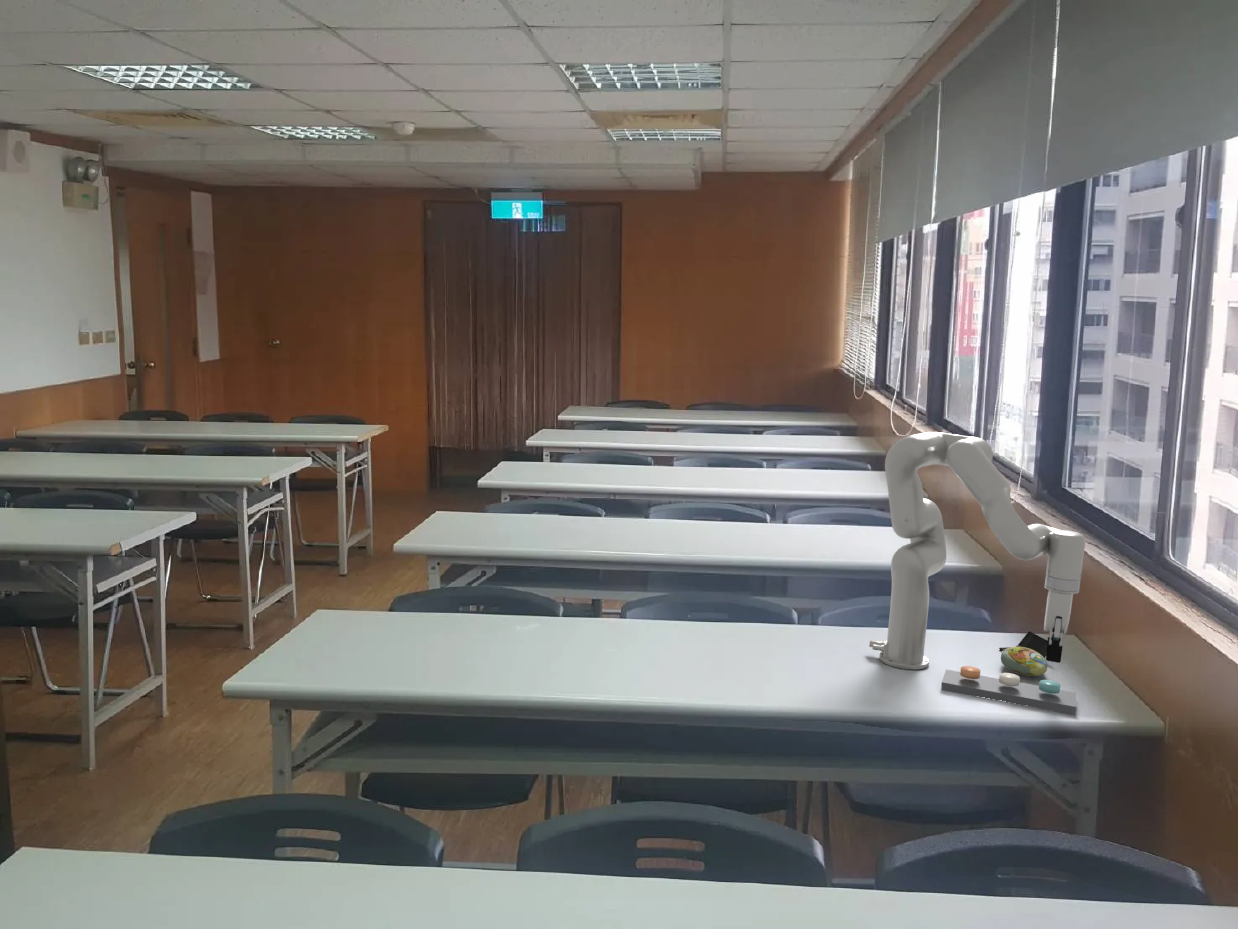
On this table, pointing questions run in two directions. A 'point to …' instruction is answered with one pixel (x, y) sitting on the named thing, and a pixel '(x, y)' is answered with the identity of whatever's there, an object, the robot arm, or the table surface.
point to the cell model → (1024, 661)
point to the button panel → (1010, 692)
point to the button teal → (1049, 686)
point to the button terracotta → (970, 672)
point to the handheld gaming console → (1033, 643)
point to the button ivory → (1009, 679)
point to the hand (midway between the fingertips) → (1053, 657)
